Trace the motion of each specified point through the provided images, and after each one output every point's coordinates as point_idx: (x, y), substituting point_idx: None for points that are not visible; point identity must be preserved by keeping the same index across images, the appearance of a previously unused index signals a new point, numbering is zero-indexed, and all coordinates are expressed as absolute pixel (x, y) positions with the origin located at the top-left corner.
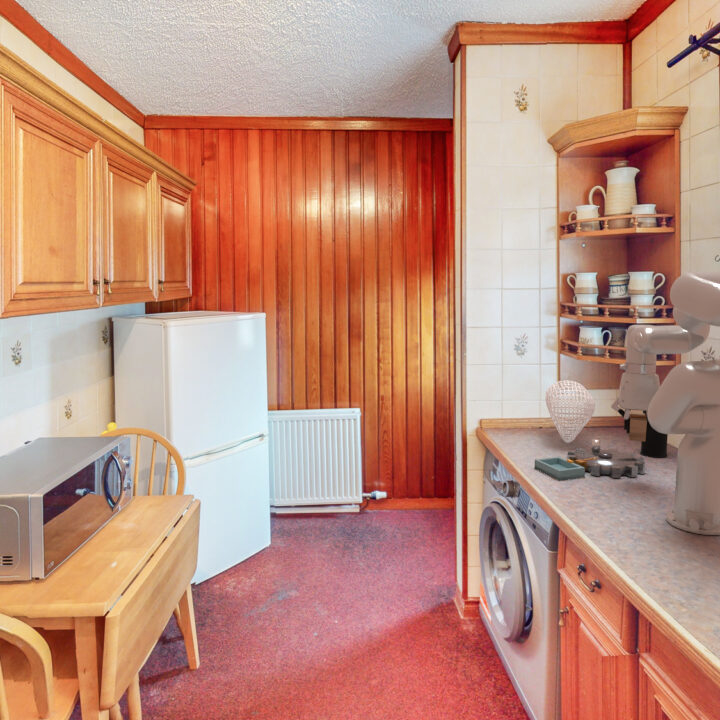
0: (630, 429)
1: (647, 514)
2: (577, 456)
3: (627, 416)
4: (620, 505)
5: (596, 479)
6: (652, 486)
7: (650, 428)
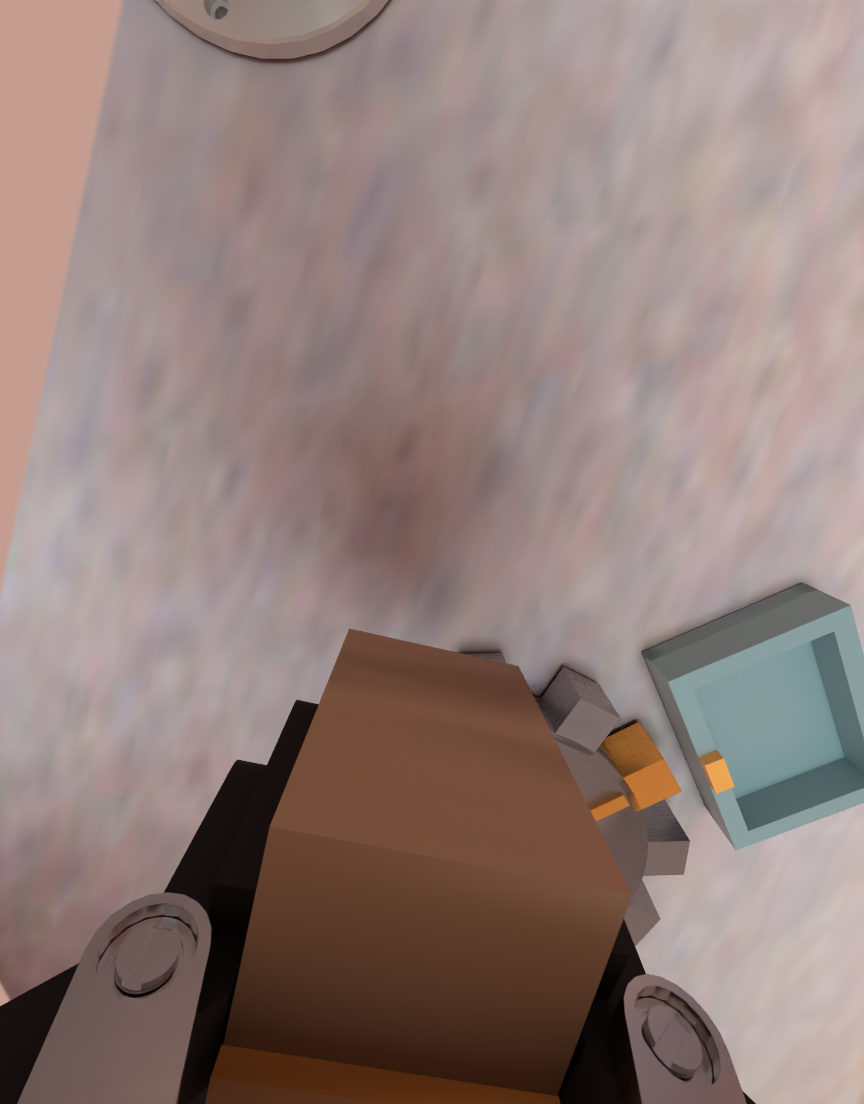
0: (551, 745)
1: (514, 25)
2: (637, 855)
3: (653, 1071)
4: (620, 189)
5: (588, 630)
6: (324, 555)
7: (223, 790)
